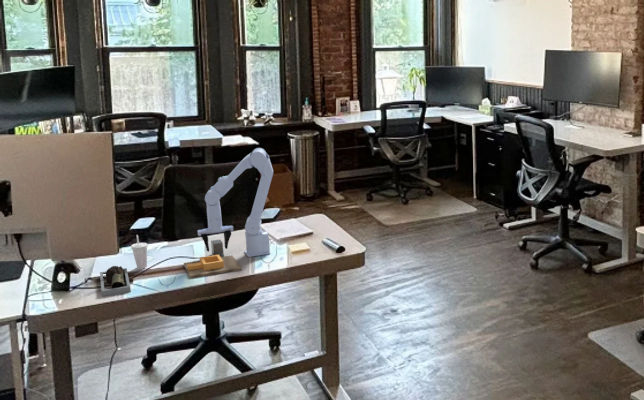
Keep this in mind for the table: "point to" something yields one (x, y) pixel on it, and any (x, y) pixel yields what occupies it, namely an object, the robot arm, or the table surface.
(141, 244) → the smoothie
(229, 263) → the base plate
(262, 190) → the robot arm
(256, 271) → the table surface
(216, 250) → the grey block
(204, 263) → the bracket collar
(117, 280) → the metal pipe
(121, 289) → the pipe rest
